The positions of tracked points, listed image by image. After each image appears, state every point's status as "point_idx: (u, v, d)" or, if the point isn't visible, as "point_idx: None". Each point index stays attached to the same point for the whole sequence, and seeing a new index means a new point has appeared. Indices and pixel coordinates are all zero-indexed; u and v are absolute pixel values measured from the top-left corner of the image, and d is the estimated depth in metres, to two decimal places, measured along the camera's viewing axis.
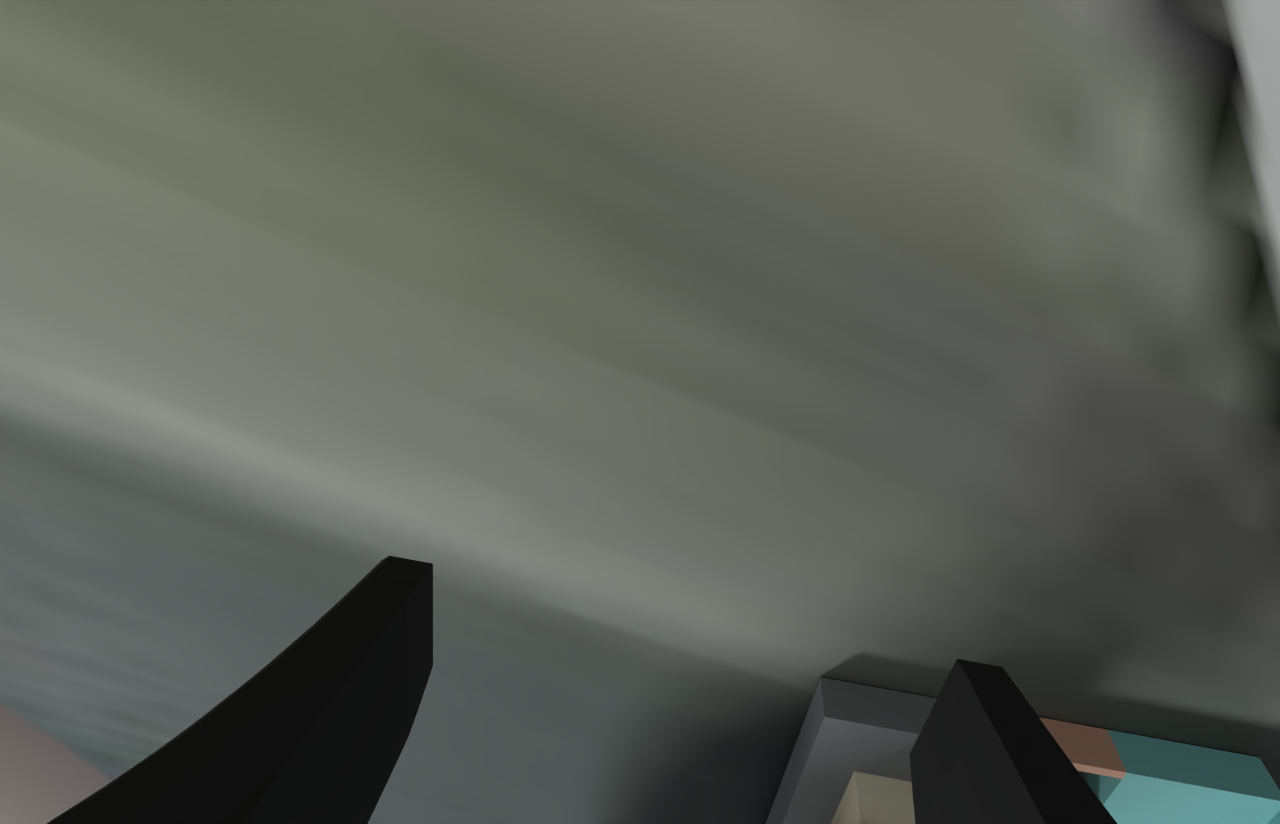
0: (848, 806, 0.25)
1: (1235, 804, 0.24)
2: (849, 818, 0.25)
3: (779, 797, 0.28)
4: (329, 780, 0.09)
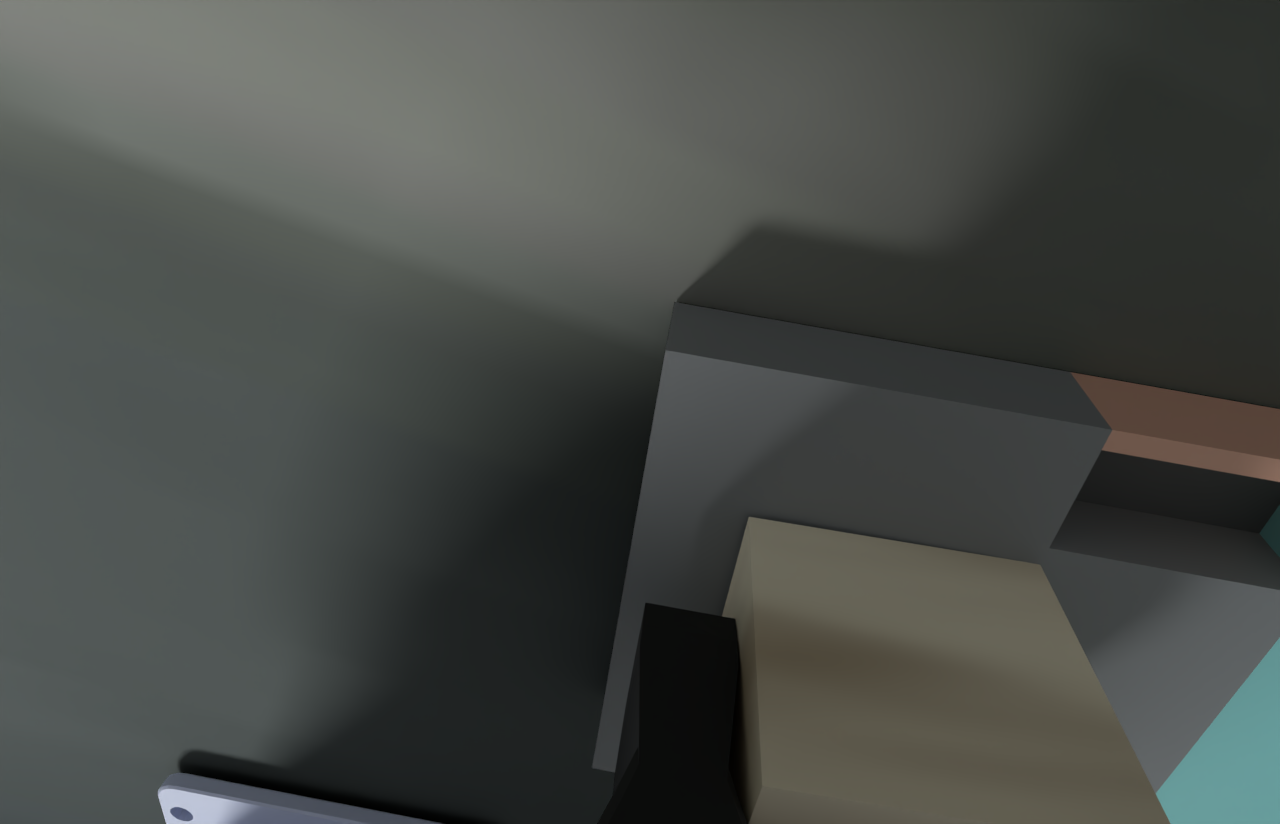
0: (735, 596, 0.11)
1: None
2: None
3: None
4: None
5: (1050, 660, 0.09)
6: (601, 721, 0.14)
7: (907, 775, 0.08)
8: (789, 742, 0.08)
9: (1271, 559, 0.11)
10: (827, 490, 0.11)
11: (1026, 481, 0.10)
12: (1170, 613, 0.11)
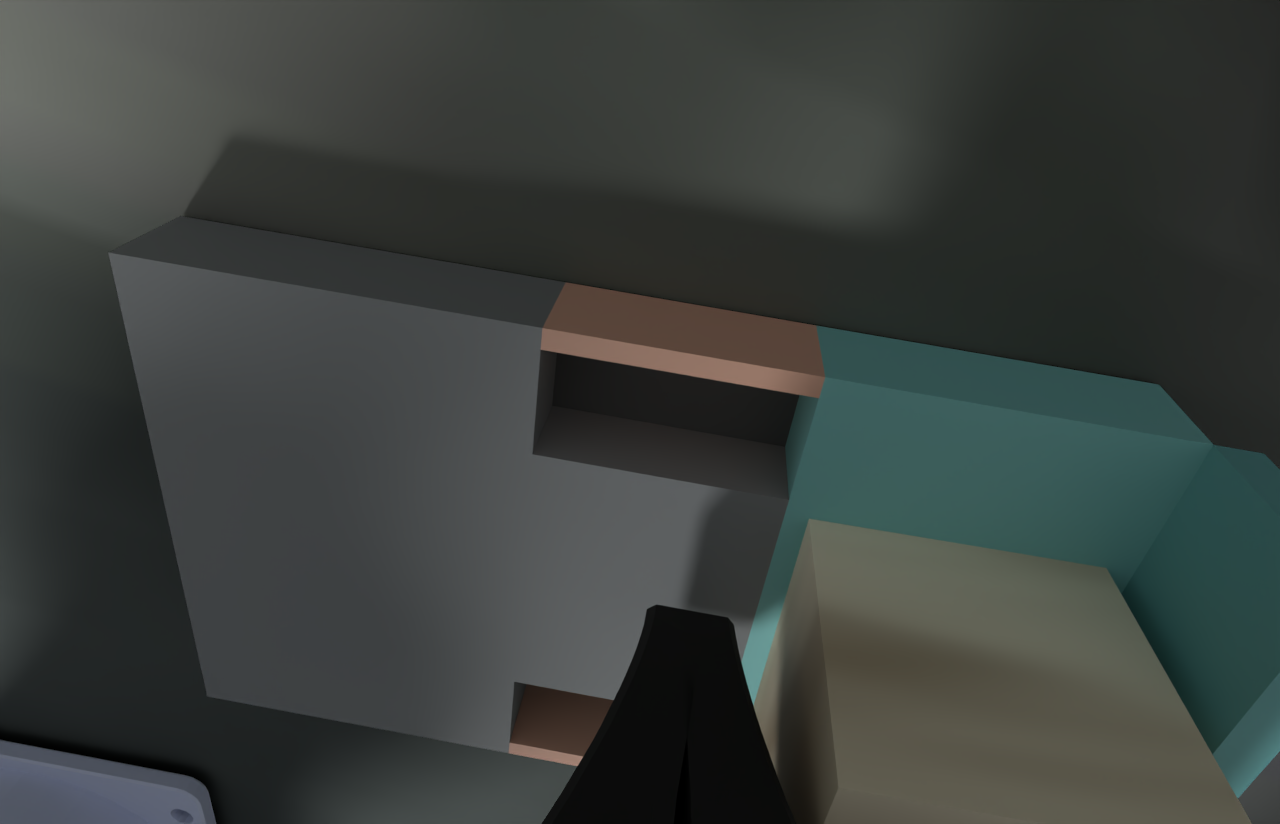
0: (796, 599, 0.11)
1: (1091, 461, 0.10)
2: (796, 621, 0.11)
3: None
4: None
5: (1122, 664, 0.09)
6: (197, 647, 0.14)
7: (983, 778, 0.08)
8: (863, 745, 0.08)
9: (774, 468, 0.11)
10: (309, 397, 0.11)
11: (485, 384, 0.10)
12: (667, 521, 0.11)
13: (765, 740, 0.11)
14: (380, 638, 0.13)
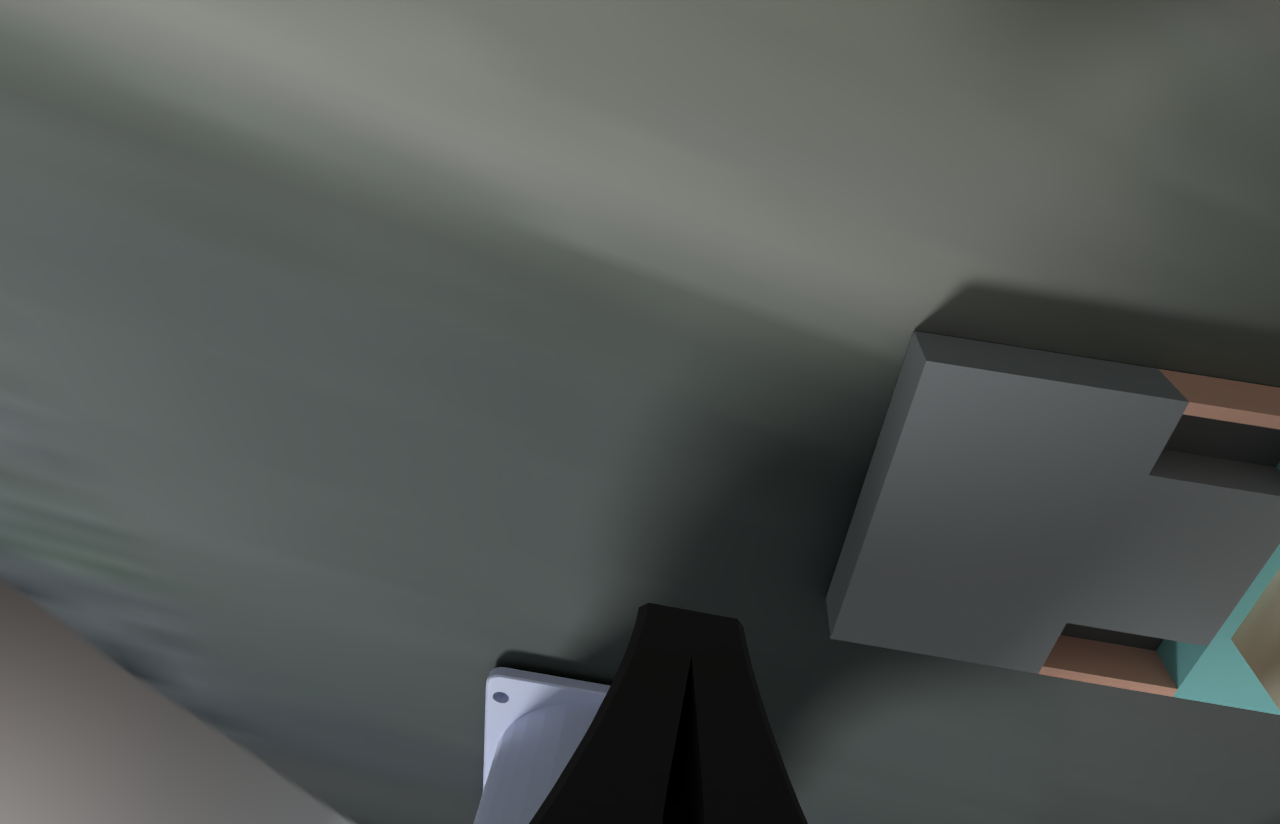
0: None
1: None
2: None
3: (850, 536, 0.21)
4: None
5: None
6: (843, 603, 0.21)
7: None
8: None
9: None
10: (1014, 442, 0.18)
11: (1136, 434, 0.17)
12: (1222, 515, 0.18)
13: (1279, 650, 0.18)
14: (983, 594, 0.20)
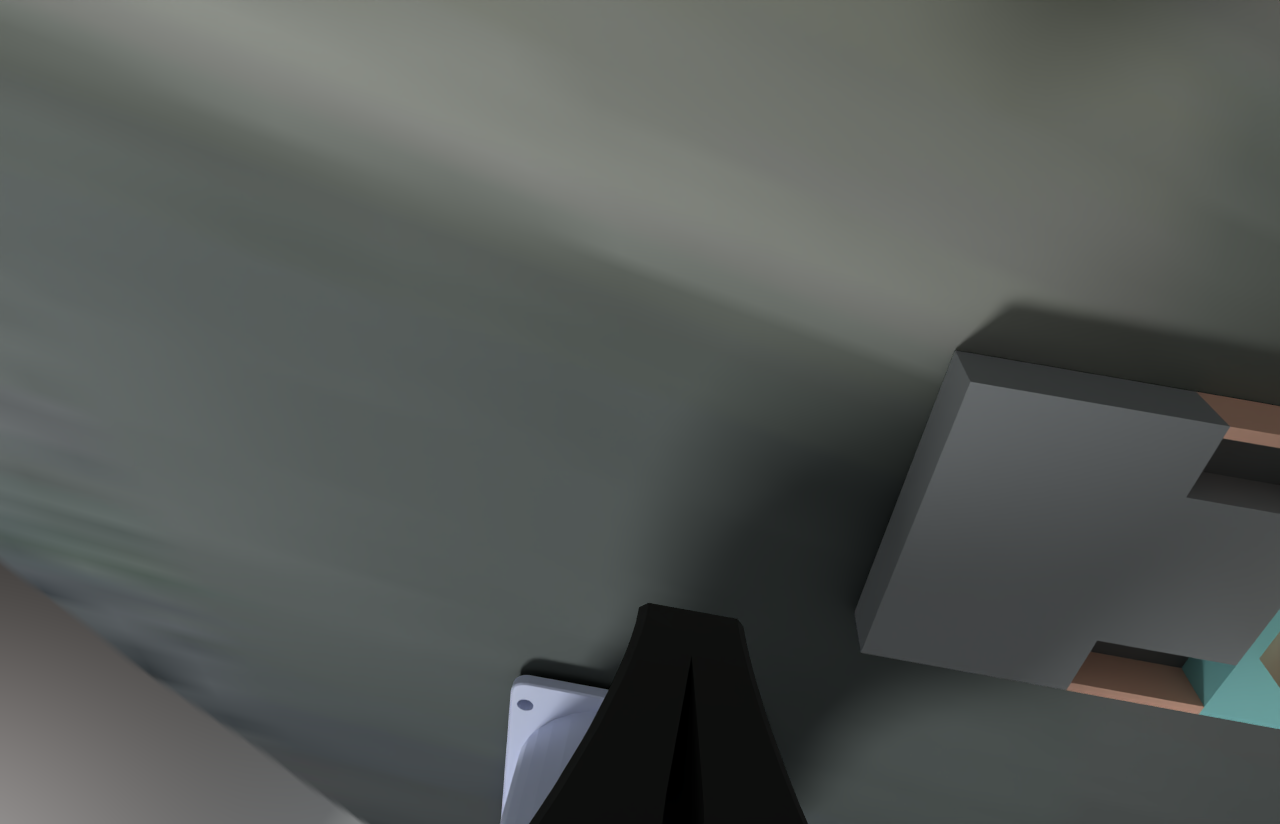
0: None
1: None
2: None
3: (883, 551, 0.21)
4: None
5: None
6: (875, 618, 0.21)
7: None
8: None
9: None
10: (1054, 463, 0.18)
11: (1176, 457, 0.17)
12: (1257, 537, 0.18)
13: None
14: (1015, 611, 0.20)
